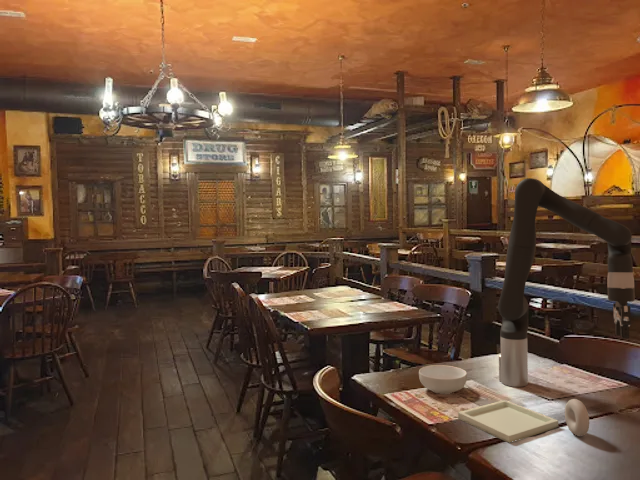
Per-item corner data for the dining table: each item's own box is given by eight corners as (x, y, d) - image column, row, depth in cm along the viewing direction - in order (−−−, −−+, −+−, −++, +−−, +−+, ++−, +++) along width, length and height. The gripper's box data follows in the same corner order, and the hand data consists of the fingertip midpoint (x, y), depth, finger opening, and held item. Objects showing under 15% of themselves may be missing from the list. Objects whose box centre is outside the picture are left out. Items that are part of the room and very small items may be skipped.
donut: (592, 442, 138) (591, 406, 138) (579, 442, 138) (579, 406, 138) (574, 427, 148) (574, 393, 148) (562, 427, 148) (562, 393, 148)
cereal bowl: (448, 402, 171) (448, 382, 171) (409, 391, 184) (409, 371, 183) (476, 390, 182) (476, 370, 182) (437, 380, 195) (437, 361, 194)
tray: (458, 418, 157) (458, 412, 157) (504, 405, 166) (504, 399, 166) (509, 443, 140) (509, 436, 140) (558, 427, 149) (558, 420, 149)
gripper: (604, 286, 174) (605, 334, 173) (611, 286, 160) (613, 338, 159) (629, 286, 171) (631, 335, 170) (639, 287, 158) (641, 340, 157)
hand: (622, 336), depth 165 cm, fingers open, 8 cm apart
